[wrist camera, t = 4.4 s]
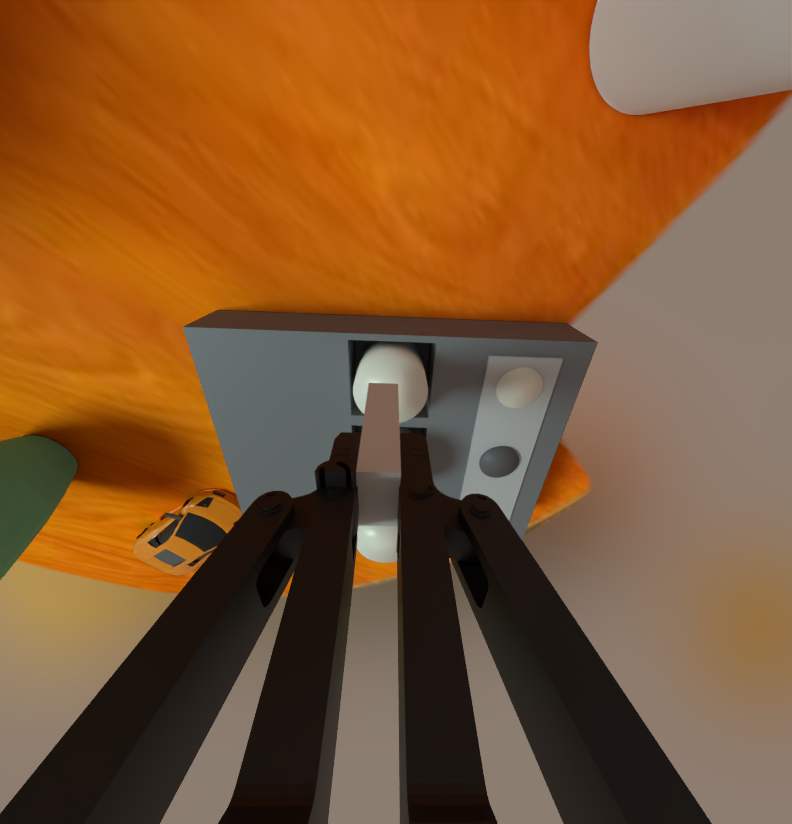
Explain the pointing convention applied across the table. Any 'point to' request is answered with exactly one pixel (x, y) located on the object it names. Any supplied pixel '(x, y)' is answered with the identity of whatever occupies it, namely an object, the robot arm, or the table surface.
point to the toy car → (188, 532)
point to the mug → (29, 490)
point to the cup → (689, 52)
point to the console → (437, 421)
